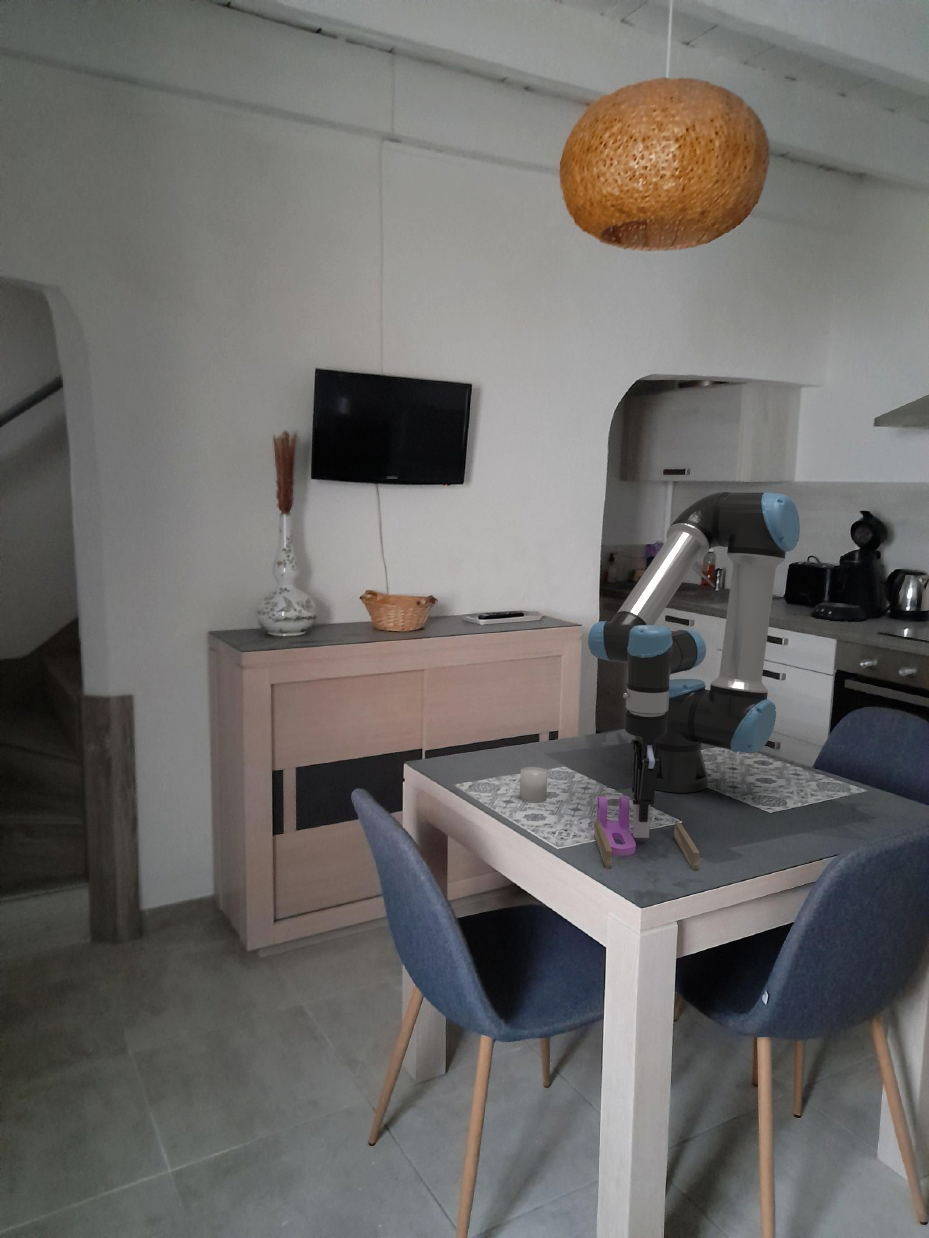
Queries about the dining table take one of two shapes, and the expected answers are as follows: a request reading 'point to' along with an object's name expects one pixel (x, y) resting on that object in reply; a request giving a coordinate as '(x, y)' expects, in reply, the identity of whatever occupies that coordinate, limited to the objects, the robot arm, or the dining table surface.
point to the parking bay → (679, 835)
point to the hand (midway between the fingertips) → (640, 835)
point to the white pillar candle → (533, 784)
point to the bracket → (617, 826)
